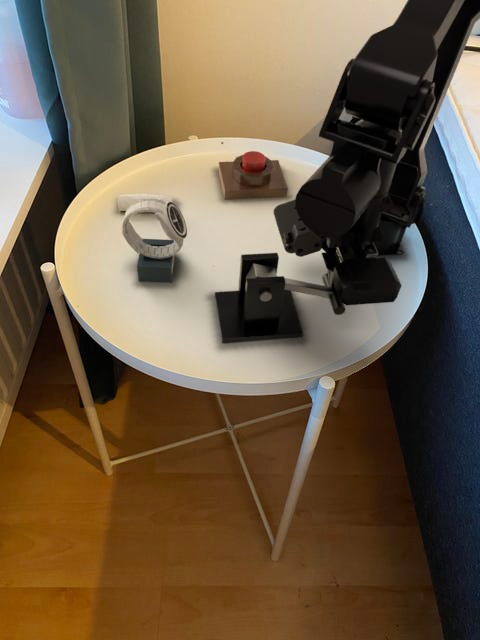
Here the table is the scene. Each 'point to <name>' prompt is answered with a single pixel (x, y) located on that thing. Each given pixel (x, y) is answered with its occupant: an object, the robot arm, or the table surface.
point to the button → (253, 162)
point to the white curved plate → (129, 199)
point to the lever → (301, 286)
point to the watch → (156, 252)
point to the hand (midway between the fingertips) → (333, 289)
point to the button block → (252, 180)
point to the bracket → (257, 306)
